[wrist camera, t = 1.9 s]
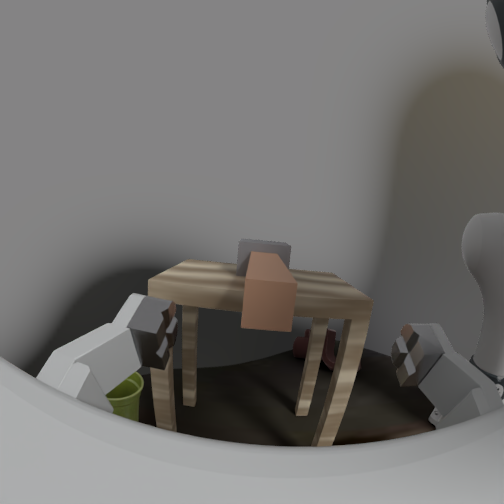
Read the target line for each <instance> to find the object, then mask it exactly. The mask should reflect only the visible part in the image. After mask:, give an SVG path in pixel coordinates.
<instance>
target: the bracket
mask: <svg viewBox="0 0 504 504" xmlns="http://www.w3.org/2000/svg"><path fill="white" fill-rule="evenodd" d="M310 332H311V330H309V329H307V330H306V331H305V337H297V338H296V339H295V341H294V344H293V355H294V357H296V358H305V359H306V354H307V349H308V344H309V338H310ZM335 336H336V331H334V330H331V329H328V328H327V331H326V336H325V341H324V346H323V351H322V356H321V360H323V361H324V363H325V364H326V365H327V367H328V368H329V369H330V370H334V367H335V362H336V358H335V356H334V345H335ZM360 369H361V360H360V363H359V366H358V370H357V371H359V370H360Z"/></svg>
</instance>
